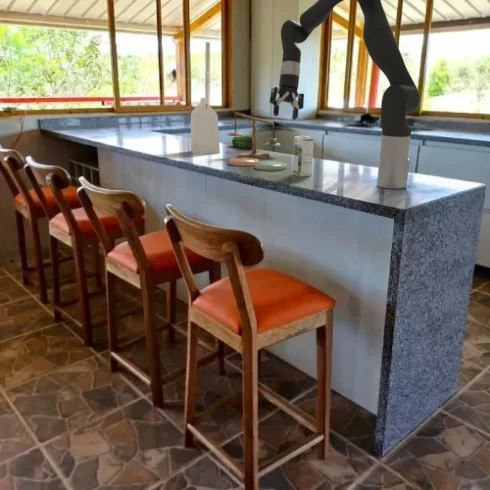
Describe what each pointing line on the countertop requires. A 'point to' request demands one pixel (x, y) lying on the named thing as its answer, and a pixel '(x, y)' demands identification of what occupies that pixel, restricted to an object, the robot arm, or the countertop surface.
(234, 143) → the vegetable
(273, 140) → the balance
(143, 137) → the countertop surface
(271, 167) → the sage dish
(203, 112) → the milk
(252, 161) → the terracotta dish
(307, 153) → the syrup box
